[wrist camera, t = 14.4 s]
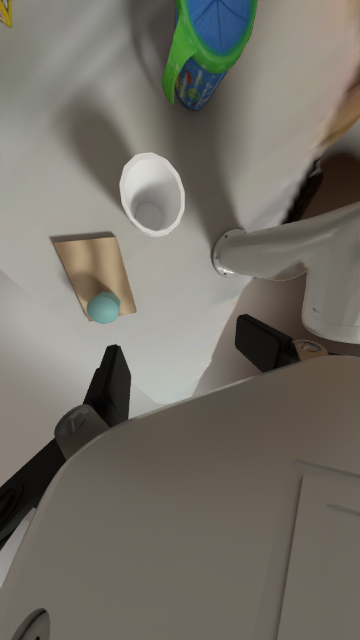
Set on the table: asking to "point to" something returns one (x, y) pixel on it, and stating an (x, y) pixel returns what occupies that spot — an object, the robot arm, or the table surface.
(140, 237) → the table surface
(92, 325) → the table surface
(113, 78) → the table surface
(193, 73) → the snack cup
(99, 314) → the cap
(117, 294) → the board
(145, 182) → the foam cup
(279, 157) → the table surface
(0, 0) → the candy box
